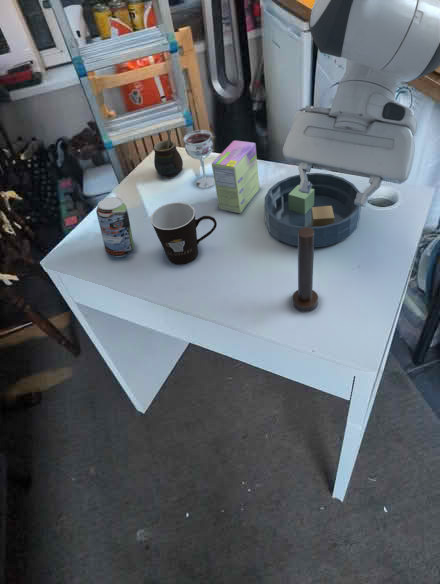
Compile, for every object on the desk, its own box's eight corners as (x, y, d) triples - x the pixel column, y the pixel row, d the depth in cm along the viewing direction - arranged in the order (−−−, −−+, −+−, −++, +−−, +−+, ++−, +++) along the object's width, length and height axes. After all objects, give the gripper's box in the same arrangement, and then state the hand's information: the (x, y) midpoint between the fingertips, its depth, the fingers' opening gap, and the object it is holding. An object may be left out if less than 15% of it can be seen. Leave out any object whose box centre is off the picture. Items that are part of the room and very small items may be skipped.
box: (238, 185, 105) (233, 139, 96) (260, 189, 103) (256, 142, 94) (218, 209, 99) (210, 163, 91) (240, 214, 97) (234, 167, 88)
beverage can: (102, 257, 93) (82, 211, 84) (122, 236, 97) (105, 191, 88) (125, 264, 90) (106, 217, 82) (145, 242, 94) (129, 196, 86)
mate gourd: (153, 181, 111) (143, 145, 104) (162, 165, 116) (153, 130, 109) (179, 181, 110) (171, 145, 102) (187, 165, 115) (180, 129, 107)
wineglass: (187, 187, 107) (177, 142, 99) (201, 172, 111) (192, 128, 102) (210, 192, 104) (202, 146, 96) (224, 177, 108) (217, 131, 100)
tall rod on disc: (320, 296, 77) (324, 225, 66) (314, 314, 74) (316, 243, 63) (296, 291, 79) (295, 221, 67) (289, 309, 76) (287, 239, 65)
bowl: (366, 200, 94) (369, 178, 90) (347, 257, 83) (350, 235, 79) (281, 189, 101) (280, 169, 97) (253, 241, 90) (251, 220, 86)
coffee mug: (155, 264, 89) (142, 226, 82) (174, 238, 94) (163, 199, 87) (206, 275, 85) (197, 235, 78) (223, 246, 90) (216, 207, 83)
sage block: (314, 204, 94) (314, 189, 91) (304, 214, 92) (304, 199, 89) (298, 199, 96) (298, 184, 93) (288, 209, 94) (288, 194, 91)
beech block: (330, 221, 90) (331, 205, 87) (333, 233, 87) (334, 217, 84) (311, 222, 90) (311, 207, 87) (312, 235, 88) (313, 219, 85)
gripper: (292, 96, 70) (266, 180, 71) (425, 112, 60) (391, 209, 62) (304, 111, 75) (279, 189, 77) (427, 128, 66) (396, 217, 68)
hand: (330, 198), depth 70 cm, fingers open, 8 cm apart
